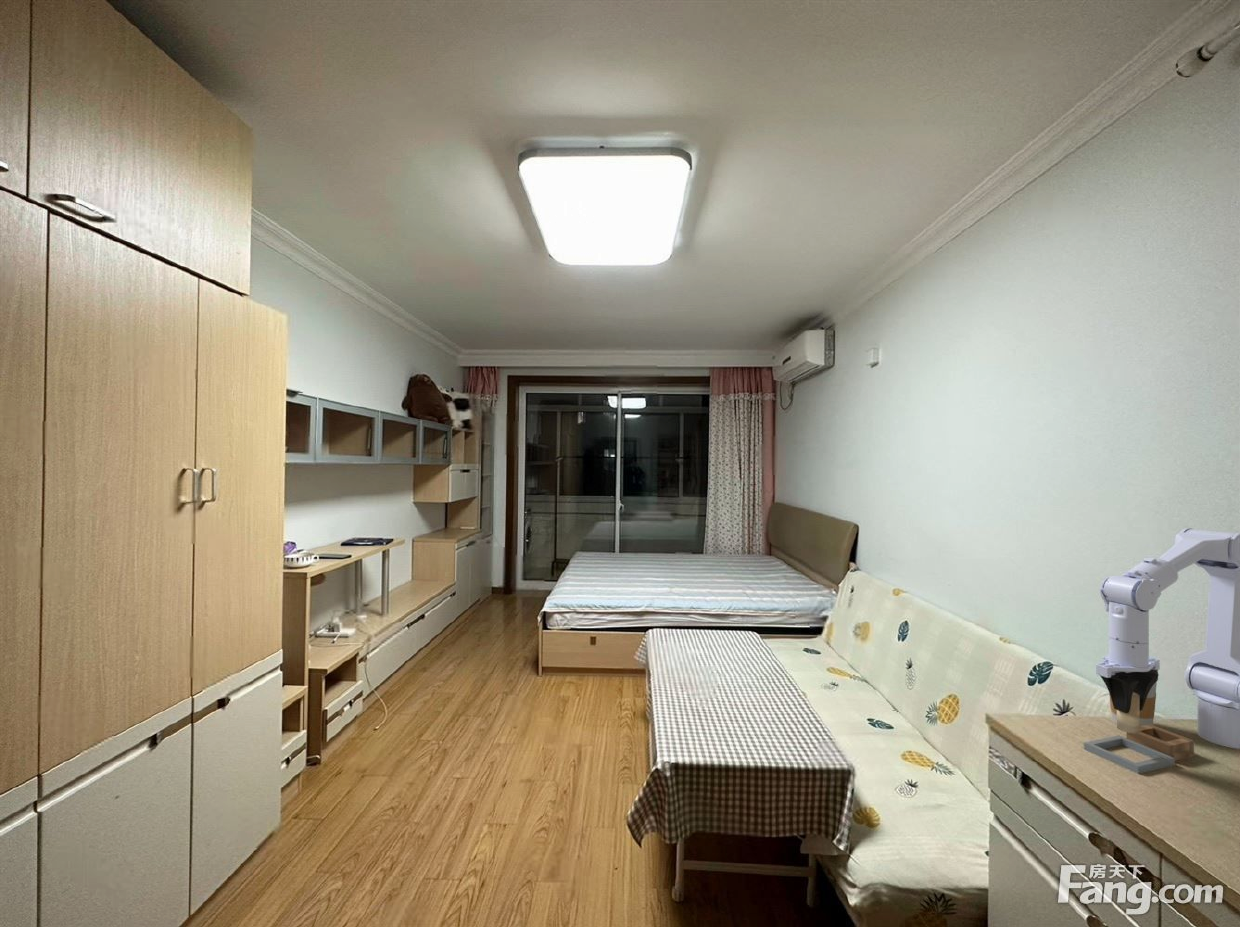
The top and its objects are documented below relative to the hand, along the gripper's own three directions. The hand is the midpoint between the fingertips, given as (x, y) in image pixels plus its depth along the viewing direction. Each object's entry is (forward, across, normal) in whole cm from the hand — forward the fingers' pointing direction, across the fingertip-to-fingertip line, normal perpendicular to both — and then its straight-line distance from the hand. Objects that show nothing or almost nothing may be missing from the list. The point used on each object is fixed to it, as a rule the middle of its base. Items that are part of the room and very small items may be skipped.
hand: (1128, 709), depth 106 cm
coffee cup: (+10, -16, -9) cm, 21 cm away
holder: (+10, -9, 0) cm, 14 cm away
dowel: (+4, 0, 0) cm, 4 cm away
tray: (+10, 0, 0) cm, 10 cm away
